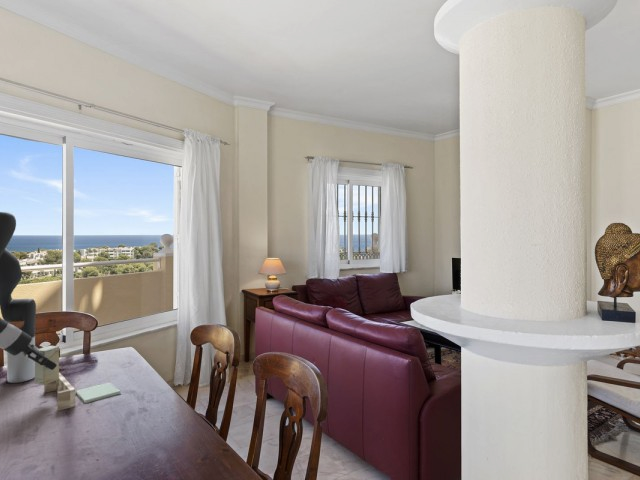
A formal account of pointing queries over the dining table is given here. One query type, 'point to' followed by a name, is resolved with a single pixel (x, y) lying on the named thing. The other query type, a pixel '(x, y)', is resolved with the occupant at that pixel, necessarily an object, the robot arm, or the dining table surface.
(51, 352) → the skincare box
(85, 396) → the sage tile
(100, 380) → the dining table surface
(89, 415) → the dining table surface
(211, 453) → the dining table surface
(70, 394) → the beige long angular piece
